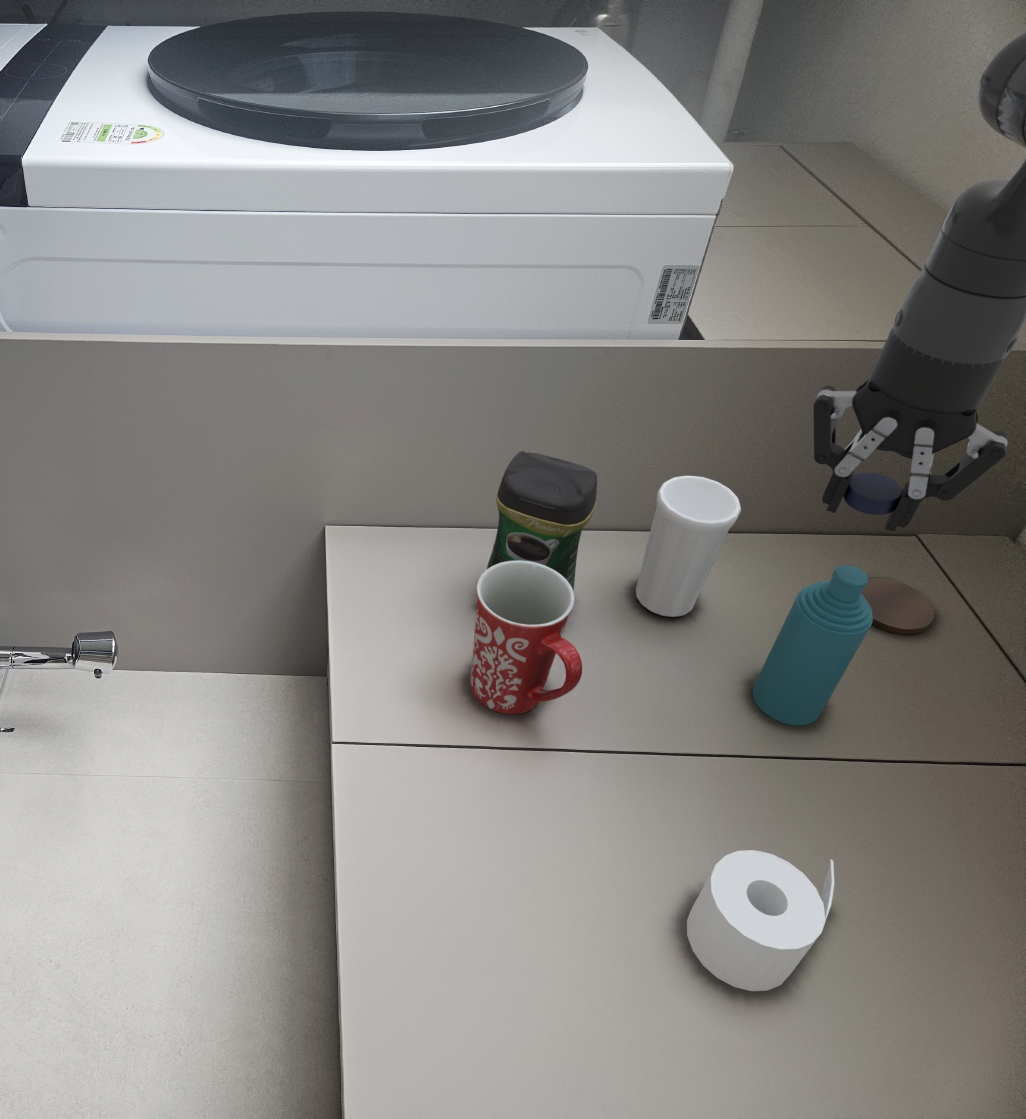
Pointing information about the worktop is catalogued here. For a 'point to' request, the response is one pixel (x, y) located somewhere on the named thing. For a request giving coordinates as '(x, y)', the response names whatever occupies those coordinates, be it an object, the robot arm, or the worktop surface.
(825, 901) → the toilet paper
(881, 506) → the cap
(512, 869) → the worktop surface
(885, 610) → the coaster
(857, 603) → the bottle
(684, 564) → the cup
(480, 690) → the mug
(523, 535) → the coffee jar
